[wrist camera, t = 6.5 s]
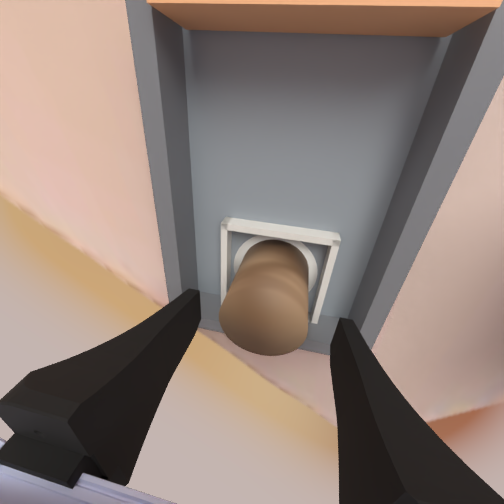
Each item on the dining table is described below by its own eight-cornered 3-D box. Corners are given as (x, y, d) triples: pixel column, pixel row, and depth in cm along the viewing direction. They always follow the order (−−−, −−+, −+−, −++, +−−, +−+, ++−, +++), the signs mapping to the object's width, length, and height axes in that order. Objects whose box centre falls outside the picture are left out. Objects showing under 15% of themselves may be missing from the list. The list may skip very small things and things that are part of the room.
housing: (487, 8, 9) (555, -32, 6) (356, 327, 18) (364, 362, 15) (163, 3, 11) (121, -29, 8) (189, 295, 19) (171, 321, 17)
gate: (459, 0, 9) (522, -48, 6) (445, 37, 9) (499, 7, 6) (184, -3, 10) (141, -43, 7) (186, 29, 11) (146, 2, 8)
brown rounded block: (314, 244, 15) (315, 298, 10) (302, 300, 17) (300, 363, 13) (243, 235, 15) (217, 281, 11) (241, 289, 17) (219, 346, 13)
